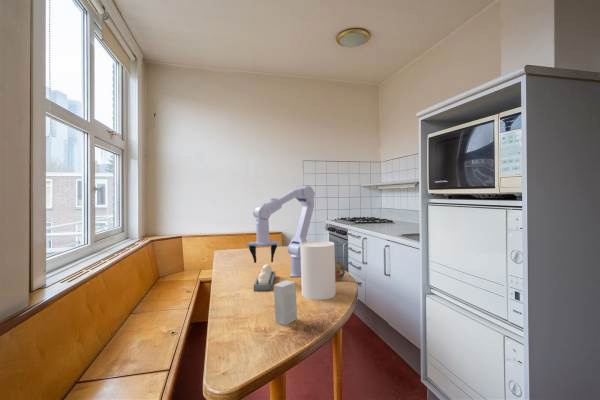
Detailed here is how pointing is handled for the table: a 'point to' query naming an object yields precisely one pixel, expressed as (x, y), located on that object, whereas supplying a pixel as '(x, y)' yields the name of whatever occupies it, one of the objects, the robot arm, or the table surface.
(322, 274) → the canister
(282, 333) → the table surface
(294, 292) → the skincare box
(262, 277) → the egg
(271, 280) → the egg crate
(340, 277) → the tin
